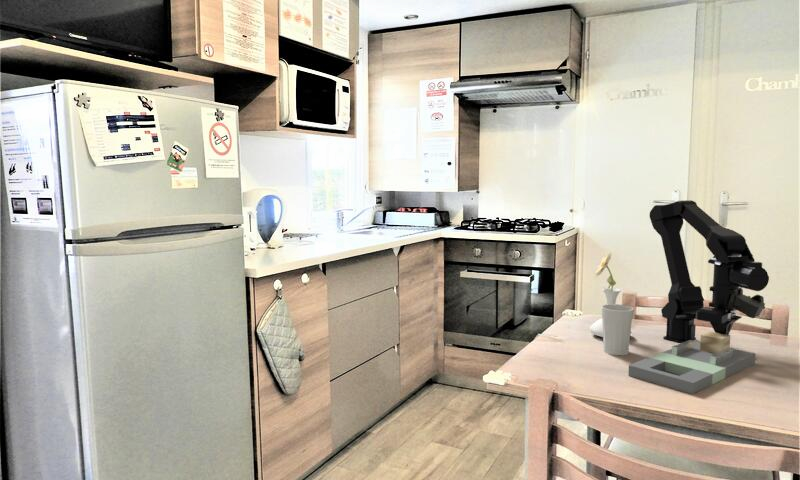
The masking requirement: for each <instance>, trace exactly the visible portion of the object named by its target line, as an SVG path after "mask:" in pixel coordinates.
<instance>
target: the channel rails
mask: <svg viewBox="0 0 800 480" xmlns="http://www.w3.org/2000/svg"><path fill="white" fill-rule="evenodd" d="M694 344H695V341H694V340H688V341H686V342H683V343H681V342H679V343H678V344H675V345H673V346H671V349H672V355H676V356H677V355H679V354H682V353H684V352H687V351H689V350H692V349H694ZM733 349H734V348H733ZM733 349H729V348H727V349H725V350H722V351H720V352H718V353H715V354H713V355H711V356H710V364H713V365H717V364H719V363H721V362H723V361H726V360H728V359H730V358H732V356H733Z"/></svg>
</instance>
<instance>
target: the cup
mask: <svg viewBox="0 0 800 480" xmlns="http://www.w3.org/2000/svg"><path fill="white" fill-rule="evenodd" d="M600 307H601V318H602V324H603V337H602V339H603V341H602V343H603V344H602V345H603V347H602V349H603V353H605V354H607V353H608V354H607V355H610V354H611V355H610V356H618V355H622V356H626V355H629V354H630V353H629V351H630V349H629V348H630V338H631V334H630V332H631V333H632V323H633V316H634V309H635V308H634V307H632V306H630V305H627V304H625V305H624V304H618V303H617V304H616V303H615V304H607V303H606V304H603V305H601V306H600Z"/></svg>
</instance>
